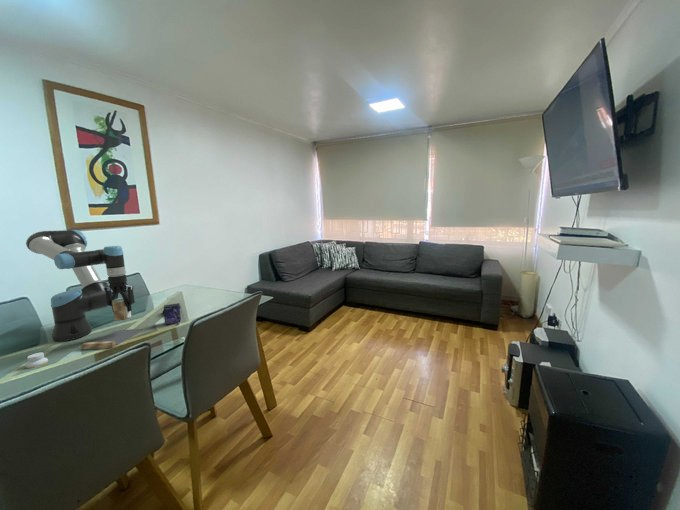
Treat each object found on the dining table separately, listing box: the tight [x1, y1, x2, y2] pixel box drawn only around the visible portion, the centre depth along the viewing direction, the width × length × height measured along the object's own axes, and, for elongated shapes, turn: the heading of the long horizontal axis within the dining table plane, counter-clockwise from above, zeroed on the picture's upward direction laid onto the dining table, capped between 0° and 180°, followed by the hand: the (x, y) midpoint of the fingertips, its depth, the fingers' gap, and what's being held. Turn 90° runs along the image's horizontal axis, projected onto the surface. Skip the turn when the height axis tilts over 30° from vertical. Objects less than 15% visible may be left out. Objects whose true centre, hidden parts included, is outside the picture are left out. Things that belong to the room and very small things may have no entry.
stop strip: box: [80, 341, 117, 350], centre depth 128 cm, size 14×2×2 cm, turn 93°
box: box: [163, 302, 182, 326], centre depth 157 cm, size 8×6×11 cm
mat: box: [94, 328, 143, 346], centre depth 139 cm, size 14×18×1 cm
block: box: [112, 297, 132, 321], centre depth 143 cm, size 5×5×11 cm
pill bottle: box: [25, 351, 49, 369], centre depth 115 cm, size 6×6×12 cm
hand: (123, 317), depth 144 cm, fingers closed on block, 5 cm apart
